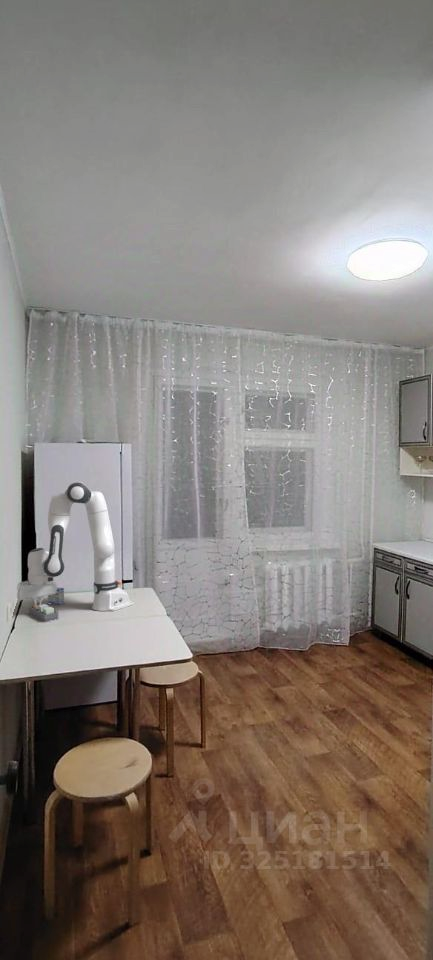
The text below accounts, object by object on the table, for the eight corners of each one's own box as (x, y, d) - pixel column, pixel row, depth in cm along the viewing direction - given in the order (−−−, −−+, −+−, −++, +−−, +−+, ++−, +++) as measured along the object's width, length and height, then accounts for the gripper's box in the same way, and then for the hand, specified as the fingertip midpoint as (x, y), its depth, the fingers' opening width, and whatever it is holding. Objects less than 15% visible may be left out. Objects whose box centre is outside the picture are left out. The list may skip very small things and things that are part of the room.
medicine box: (47, 604, 280) (47, 588, 279) (52, 601, 284) (52, 586, 284) (59, 605, 277) (59, 589, 277) (64, 602, 282) (64, 587, 281)
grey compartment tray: (42, 610, 267) (41, 604, 267) (58, 619, 252) (58, 612, 252) (29, 613, 262) (28, 606, 262) (44, 622, 247) (44, 615, 247)
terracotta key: (40, 609, 265) (40, 603, 265) (43, 611, 262) (43, 605, 262) (32, 611, 262) (32, 605, 262) (36, 612, 259) (35, 606, 259)
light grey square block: (45, 609, 260) (45, 604, 260) (48, 611, 257) (48, 605, 257) (37, 611, 257) (37, 605, 257) (41, 613, 254) (40, 607, 254)
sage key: (50, 612, 255) (50, 606, 255) (54, 614, 252) (53, 608, 252) (43, 614, 252) (42, 608, 252) (46, 615, 249) (46, 610, 249)
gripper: (19, 583, 252) (20, 610, 252) (57, 577, 266) (58, 602, 266) (14, 581, 257) (15, 608, 257) (52, 575, 270) (53, 600, 271)
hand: (37, 605), depth 262 cm, fingers closed
